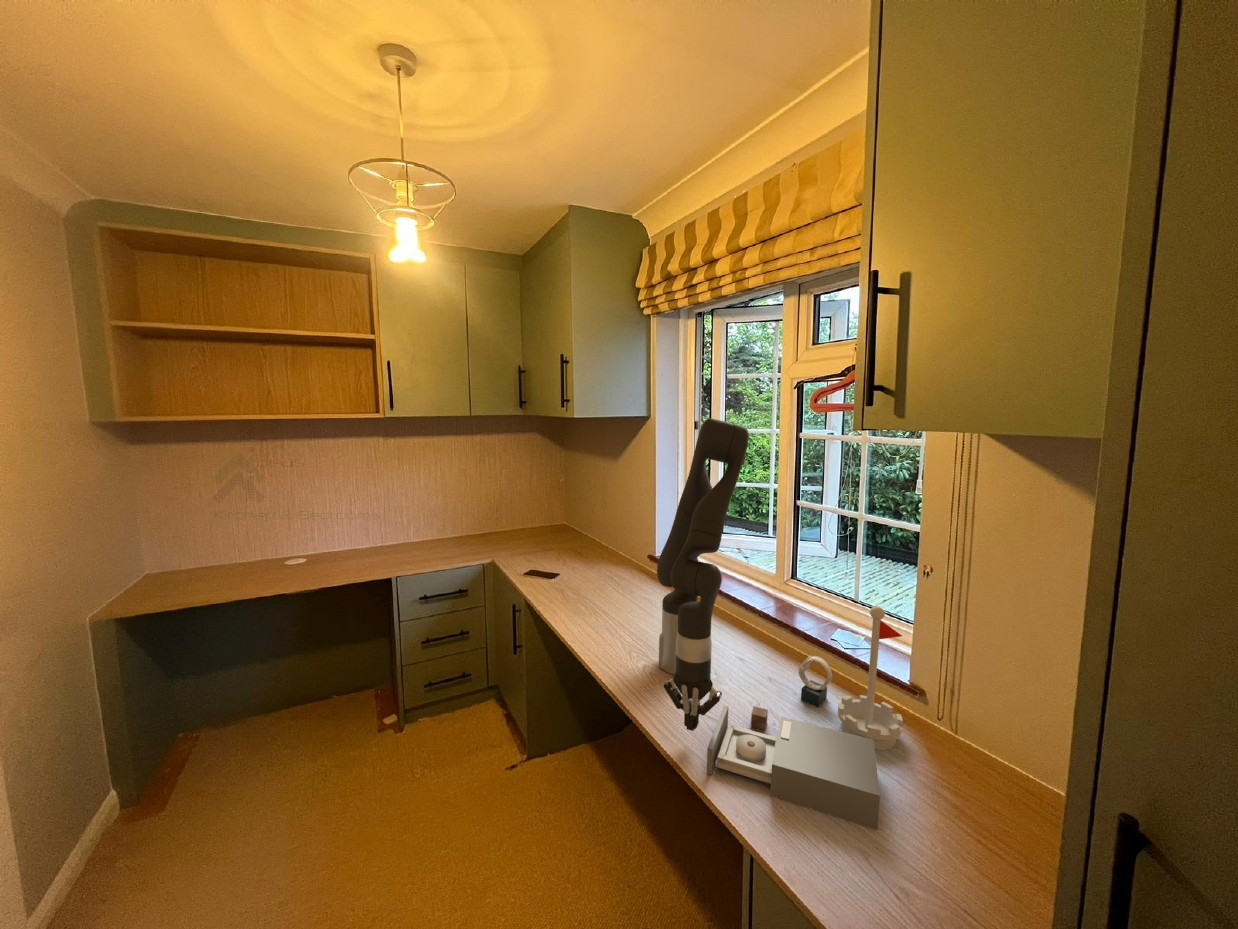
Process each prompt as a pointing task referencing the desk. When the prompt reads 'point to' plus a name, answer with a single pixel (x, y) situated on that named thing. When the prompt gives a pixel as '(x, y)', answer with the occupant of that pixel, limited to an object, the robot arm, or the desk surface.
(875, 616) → the flag stand
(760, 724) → the brown block
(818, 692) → the watch
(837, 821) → the desk surface
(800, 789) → the housing
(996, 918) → the desk surface
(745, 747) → the beige knobbed lid
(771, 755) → the tray
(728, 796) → the desk surface
